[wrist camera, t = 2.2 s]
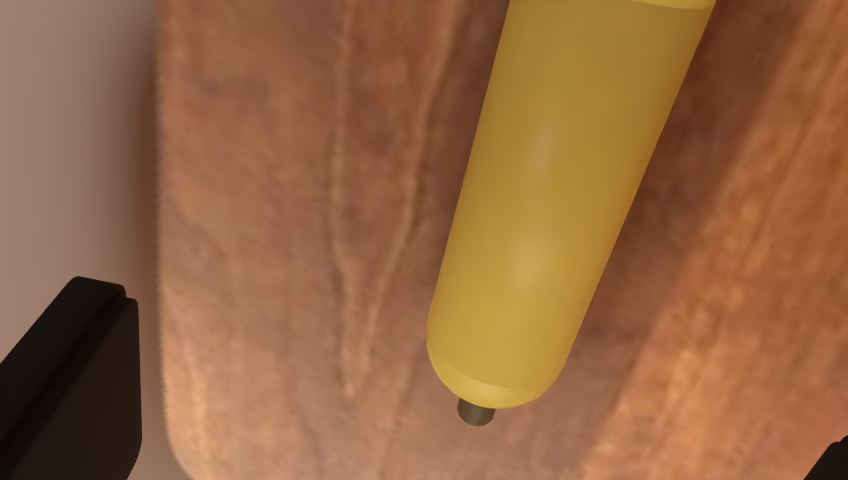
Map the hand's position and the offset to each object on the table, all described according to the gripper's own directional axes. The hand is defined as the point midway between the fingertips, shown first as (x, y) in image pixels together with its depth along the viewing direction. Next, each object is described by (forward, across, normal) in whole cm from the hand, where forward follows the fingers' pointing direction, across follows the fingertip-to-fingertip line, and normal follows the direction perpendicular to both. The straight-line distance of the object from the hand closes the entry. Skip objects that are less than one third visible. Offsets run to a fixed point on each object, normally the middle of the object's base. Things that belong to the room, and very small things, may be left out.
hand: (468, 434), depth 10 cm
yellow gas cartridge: (+8, 0, 0) cm, 8 cm away
